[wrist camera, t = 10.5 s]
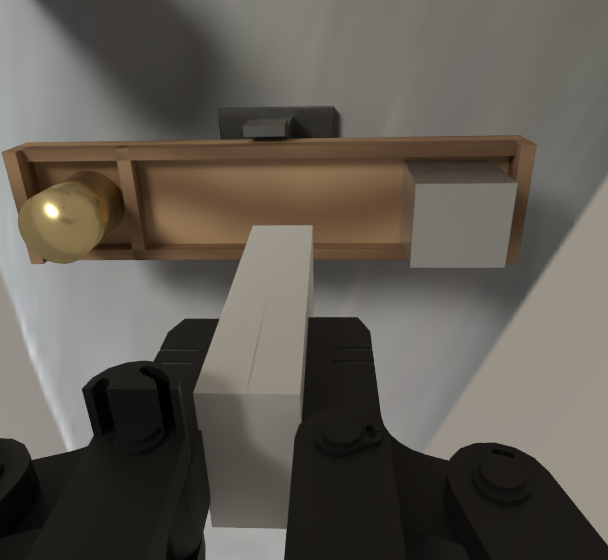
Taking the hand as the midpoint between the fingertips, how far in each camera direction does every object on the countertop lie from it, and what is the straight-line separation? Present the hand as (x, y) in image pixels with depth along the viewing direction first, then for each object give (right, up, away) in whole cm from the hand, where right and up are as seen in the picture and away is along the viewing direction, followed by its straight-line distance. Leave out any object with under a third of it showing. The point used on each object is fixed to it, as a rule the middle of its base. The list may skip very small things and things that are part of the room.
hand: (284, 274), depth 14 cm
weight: (-13, +5, +19) cm, 24 cm away
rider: (+9, +5, +18) cm, 21 cm away
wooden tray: (-2, +5, +20) cm, 21 cm away
